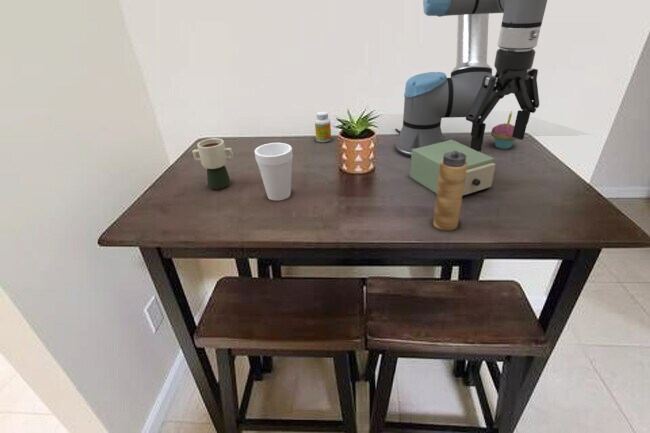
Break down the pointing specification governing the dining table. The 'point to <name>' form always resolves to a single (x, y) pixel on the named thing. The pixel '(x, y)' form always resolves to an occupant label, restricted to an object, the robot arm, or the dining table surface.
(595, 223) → the dining table surface
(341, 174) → the dining table surface
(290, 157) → the foam cup
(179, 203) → the dining table surface
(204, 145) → the character mug
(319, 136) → the supplement bottle
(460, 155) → the pepper mill
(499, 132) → the cupcake
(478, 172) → the drawer
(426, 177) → the cabinet
